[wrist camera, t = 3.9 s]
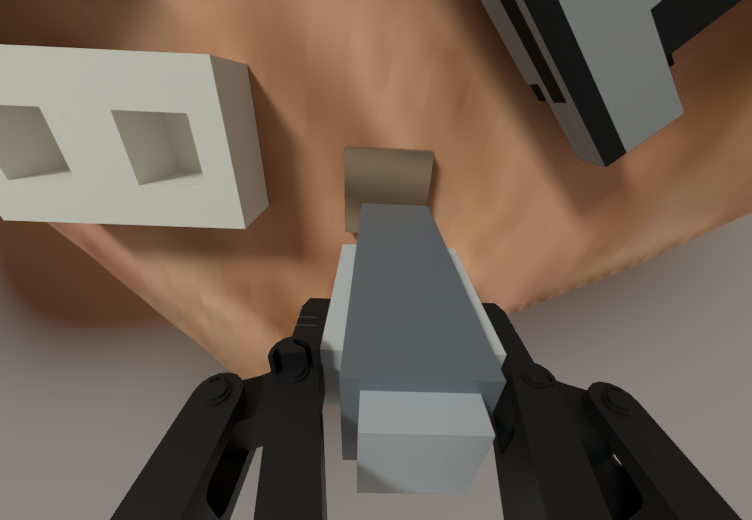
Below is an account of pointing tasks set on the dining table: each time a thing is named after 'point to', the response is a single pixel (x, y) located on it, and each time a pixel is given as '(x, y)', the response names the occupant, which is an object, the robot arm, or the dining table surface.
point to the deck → (384, 179)
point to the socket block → (128, 138)
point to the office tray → (603, 63)
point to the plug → (413, 361)
